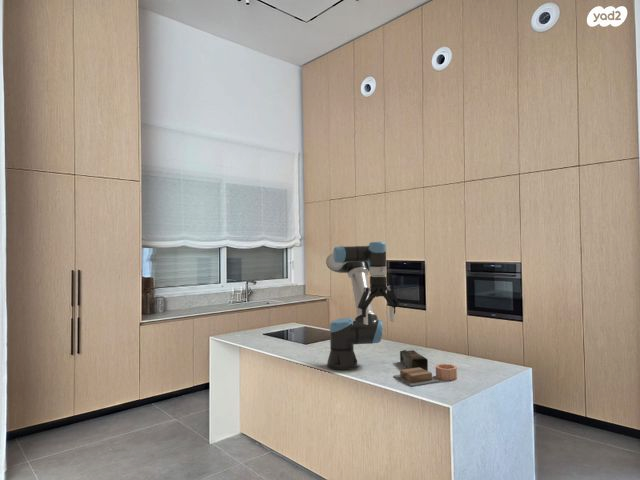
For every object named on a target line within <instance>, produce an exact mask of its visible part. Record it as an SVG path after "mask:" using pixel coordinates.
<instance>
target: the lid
mask: <svg viewBox="0 0 640 480" xmlns="http://www.w3.org/2000/svg"><path fill="white" fill-rule="evenodd" d="M399 375H400V377H402V378H404V379H406V380H408V381H409V382H411V383H416V382H422V381H429V380H432V378H433V373H432V372H430V371H429V370H428V371H426V370H424V369H422V368H420V367H417V368H410V369H408V368H403V369H400V370H399Z"/></svg>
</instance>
